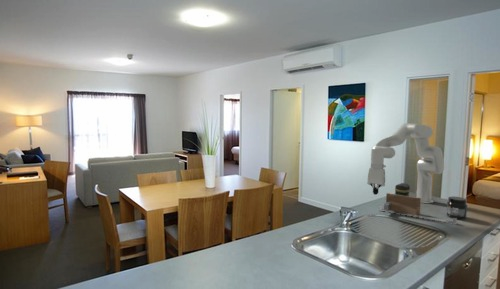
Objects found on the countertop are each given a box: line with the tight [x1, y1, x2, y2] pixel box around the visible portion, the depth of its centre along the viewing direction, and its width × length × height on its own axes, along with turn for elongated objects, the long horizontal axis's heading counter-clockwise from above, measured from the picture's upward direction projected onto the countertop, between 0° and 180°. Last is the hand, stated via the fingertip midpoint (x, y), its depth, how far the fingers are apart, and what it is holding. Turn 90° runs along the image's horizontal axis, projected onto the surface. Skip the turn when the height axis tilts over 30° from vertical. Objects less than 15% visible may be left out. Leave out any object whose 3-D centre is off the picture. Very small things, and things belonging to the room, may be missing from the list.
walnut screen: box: [383, 192, 422, 216], centre depth 193 cm, size 10×20×11 cm, turn 53°
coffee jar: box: [394, 182, 411, 196], centre depth 203 cm, size 10×8×19 cm
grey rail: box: [378, 204, 458, 225], centre depth 192 cm, size 3×43×3 cm, turn 53°
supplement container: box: [446, 196, 468, 220], centre depth 192 cm, size 10×10×12 cm
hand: (375, 194), depth 199 cm, fingers closed
